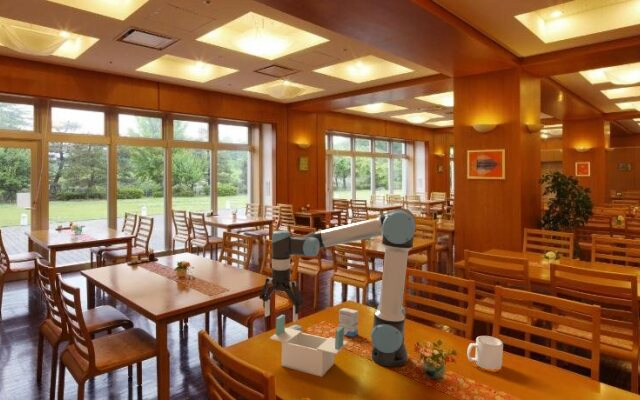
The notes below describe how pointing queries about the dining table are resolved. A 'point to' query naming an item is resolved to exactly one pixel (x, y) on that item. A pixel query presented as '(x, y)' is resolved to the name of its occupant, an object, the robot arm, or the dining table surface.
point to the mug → (487, 352)
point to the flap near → (334, 343)
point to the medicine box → (296, 327)
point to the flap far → (283, 331)
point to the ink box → (349, 321)
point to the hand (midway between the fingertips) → (281, 318)
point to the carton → (306, 355)
